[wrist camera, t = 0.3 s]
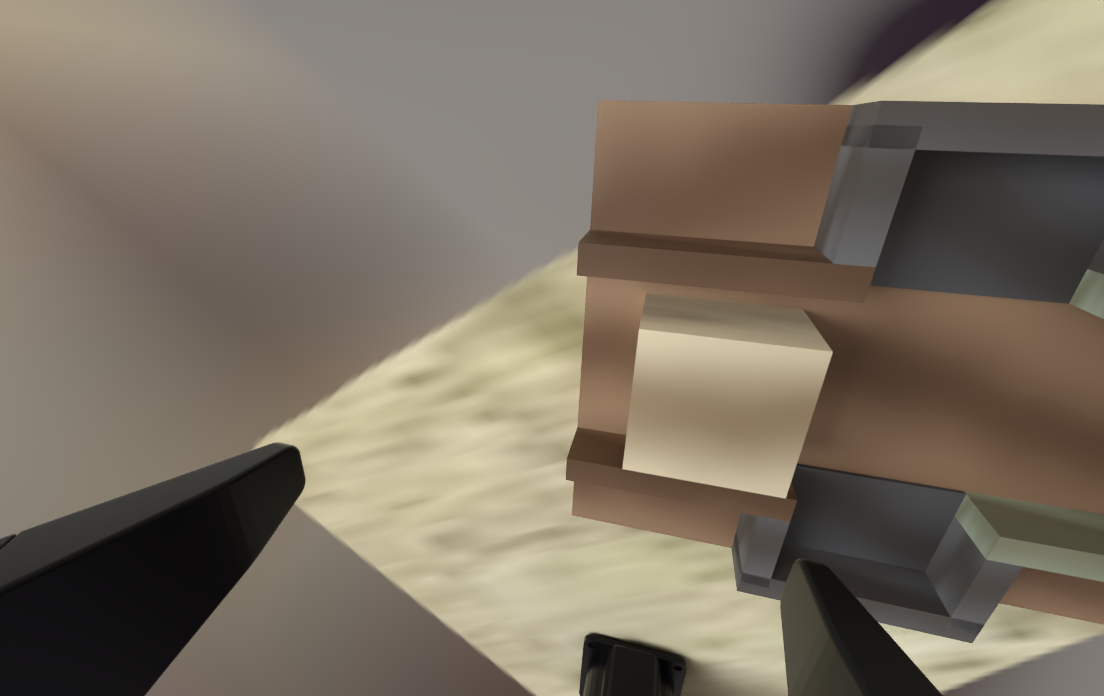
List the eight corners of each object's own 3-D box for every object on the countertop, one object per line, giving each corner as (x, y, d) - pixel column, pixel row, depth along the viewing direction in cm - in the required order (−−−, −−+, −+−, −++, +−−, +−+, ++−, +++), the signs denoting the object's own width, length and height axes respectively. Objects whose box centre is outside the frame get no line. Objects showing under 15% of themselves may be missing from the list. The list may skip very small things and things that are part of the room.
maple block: (767, 435, 21) (785, 498, 17) (631, 414, 22) (622, 469, 18) (802, 308, 18) (833, 351, 14) (646, 292, 19) (639, 328, 16)
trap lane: (1141, 615, 21) (1221, 698, 18) (575, 502, 26) (561, 551, 23) (1574, 121, 12) (1873, 118, 9) (602, 101, 18) (586, 95, 15)
